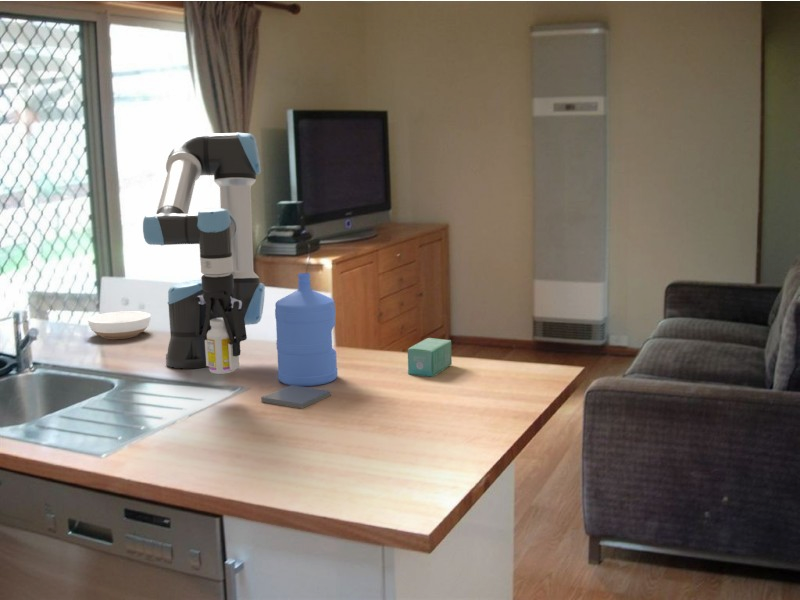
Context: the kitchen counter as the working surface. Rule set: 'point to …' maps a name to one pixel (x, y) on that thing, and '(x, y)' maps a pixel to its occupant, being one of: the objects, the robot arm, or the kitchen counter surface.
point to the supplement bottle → (218, 347)
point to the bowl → (119, 324)
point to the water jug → (305, 336)
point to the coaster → (296, 396)
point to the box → (429, 357)
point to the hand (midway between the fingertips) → (222, 366)
